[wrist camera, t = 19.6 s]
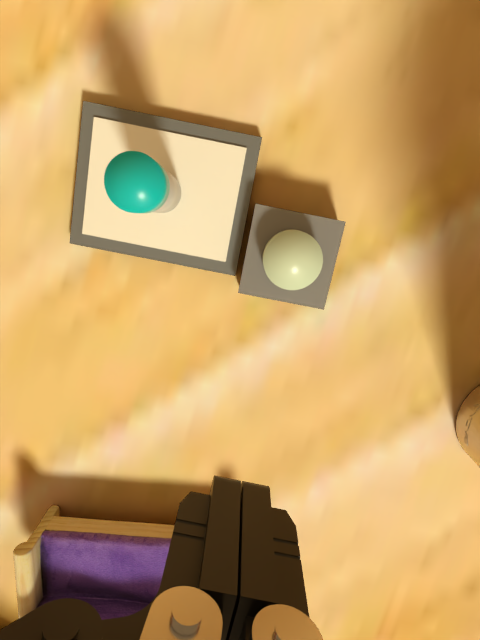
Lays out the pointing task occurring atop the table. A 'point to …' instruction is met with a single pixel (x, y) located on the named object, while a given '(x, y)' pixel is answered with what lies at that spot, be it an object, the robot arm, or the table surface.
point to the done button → (292, 259)
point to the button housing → (273, 222)
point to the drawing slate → (193, 176)
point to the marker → (140, 184)
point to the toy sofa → (91, 563)
